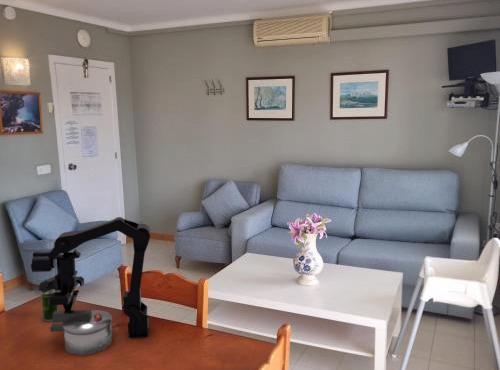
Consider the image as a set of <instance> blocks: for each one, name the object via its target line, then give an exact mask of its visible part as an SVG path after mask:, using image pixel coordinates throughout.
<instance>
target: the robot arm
mask: <svg viewBox="0 0 500 370" xmlns="http://www.w3.org/2000/svg"><path fill="white" fill-rule="evenodd" d="M115 232H119V233H121V234H123V235H124V236H126V237H128V238H130V239H132V244H133V245H132V246H133V258H132V259H133V260H132V269H131V275H130V284H129V289H128V290H125V291H124V292H123V300H122V306H121V309H122V310H123V314H124V315H125V316H126V317H128V319H129V320H128V322H127V333H128V338H130V339H131V338H133V339H135V338H148V336H149V334H150V333H149V332H150V330H151V328H150V326H149V325H150V324H149V323H150V322H149V314H148V305H146V304H145V303H144V302H143V301H142V293H141V285H142V284H141V283H142V276H143V268H144V261H145V254H146V250H147V248H148V245H149V242H150V239H151V228H150V226H149V225H147V224H145V223H137V222H135V221H132V220H128V219H126V218H123V217H121V216H118V217H115V218H113V219H111V220H108V221H105V222H103V223H100V224H96V225H94V226H90V227H88V228H84V229H82V230H81V229H80V230H71V231H65V232H62V233H61V234H59V235H58V236H57V238H56V239H55V240H54V244H53V246H54V247H52V248H51V250H50V251H49V250H48V251H34V252H33V253H32V259H31V264H30V269H31V272H32V273H44V272H52V271H53V269H55V268H56V275H54V276H53V277H50V278H47V279H44V280H43V281H40V283H39V285H38V291H40V293H41V292H43V293H46V292H47V291H50V290H53V289H55V291H57V292H54V293H53V294H52V295H51V296H50V298H49V299H48V304H49V305H58V306H63V308H64V311H67V310H73V308H74V305H75V302H76V300H77V297H78V296H79V293H80V290H78V289H76V287H78V285H79V286H80V287H83V286H84V285H85V278H84V277H83V276H77V274H78V270H76V259H79V258H80V257H81V255H82V253H81V252H79V251H78V250H77V248H78V247H79V246H81V245H83V244H84V243H87V242H89V241H92V240H95V239H97V238H101V237H104V236H106V235H109V234H112V233H115Z"/></svg>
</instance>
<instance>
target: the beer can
mask: <svg viewBox="0 0 500 370" xmlns="http://www.w3.org/2000/svg"><path fill="white" fill-rule="evenodd" d="M54 292H58V291H55V289H53V290H50V291H47V292H46V293H43V292H41V291H40V293H41V294H40V295H41V308H42V319H43V320H44V321H45V322H53V318H52V314H53V313H54V312H55V311H59V305H49V304H48V299H49V298H50V296H51V295H52V294H53V293H54Z"/></svg>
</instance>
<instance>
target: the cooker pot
mask: <svg viewBox="0 0 500 370" xmlns="http://www.w3.org/2000/svg"><path fill="white" fill-rule="evenodd" d="M49 329H50V333H51V332H53V333H55V332H59V333H61V332H63V335H64V336H63V337H64V347H65V348H64V349H65V351H66V352H67V353H69V354H71V355H75V356H85V355H86V356H87V355H92V354H96V353H100V352H101V351H104V350H105V349H107V348H108V347H109V346H110V345H111V344H112V341H113V339H112V336H113V335H112V323H111V324H110V325H109V326H108V327H106V328H104V329H103V330H100V331H97V332H94V333H89V334H71V333H67V332H66V331H64V329H63V323H52V324H51V326H50V327H49Z"/></svg>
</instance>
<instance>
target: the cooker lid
mask: <svg viewBox="0 0 500 370" xmlns="http://www.w3.org/2000/svg"><path fill="white" fill-rule="evenodd" d="M52 318H53V321H52V324H59V323H62V324H63V329H64V331H66V332H67V333H71V334H89V333H94V332H97V331H100V330H103V329H104V328H106V327H108V326H109V325H110V324H111V325H112V321H113V316H112V314H111V313H110V312H108V311H106V310H101V309H100V310H99V309H98V310H97V309H75V310H73V309H72V310H67V311H65V310H58V311H55V312H54V313H53V314H52ZM64 331H63V332H64Z"/></svg>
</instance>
